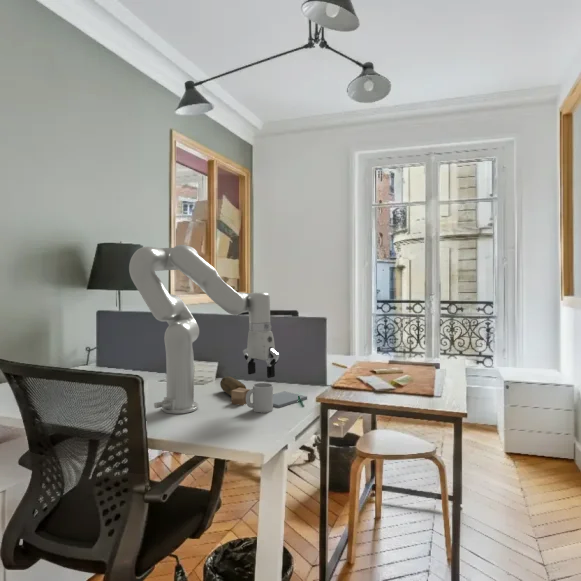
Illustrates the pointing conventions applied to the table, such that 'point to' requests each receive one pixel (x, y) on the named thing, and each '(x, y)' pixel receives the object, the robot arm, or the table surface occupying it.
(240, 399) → the walnut block
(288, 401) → the mat
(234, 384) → the brown rounded cylinder
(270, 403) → the cup
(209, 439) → the table surface
